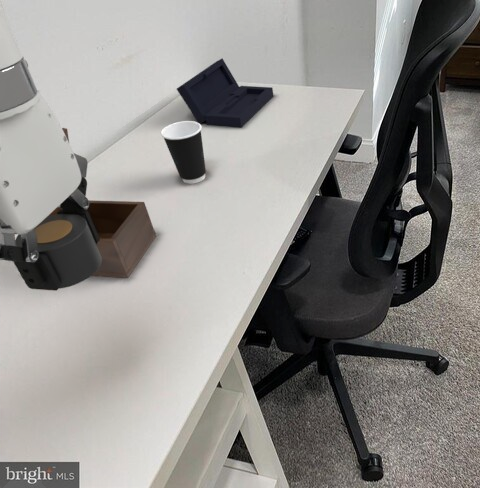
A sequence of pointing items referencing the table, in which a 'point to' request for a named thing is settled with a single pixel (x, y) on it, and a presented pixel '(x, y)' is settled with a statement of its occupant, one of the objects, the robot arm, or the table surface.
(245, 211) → the table surface
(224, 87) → the storage box
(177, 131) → the dixie cup
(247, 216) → the table surface
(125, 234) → the chest
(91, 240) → the tape
